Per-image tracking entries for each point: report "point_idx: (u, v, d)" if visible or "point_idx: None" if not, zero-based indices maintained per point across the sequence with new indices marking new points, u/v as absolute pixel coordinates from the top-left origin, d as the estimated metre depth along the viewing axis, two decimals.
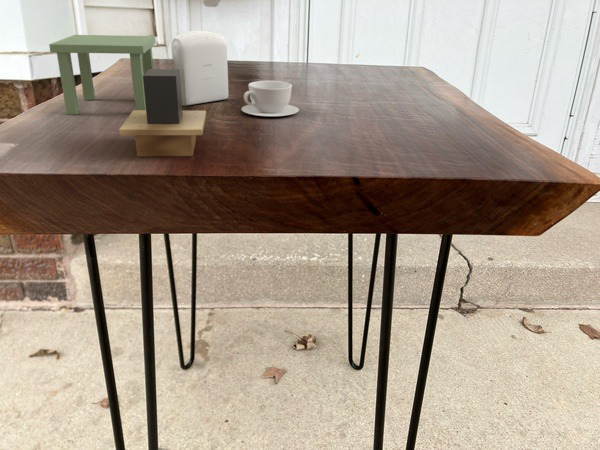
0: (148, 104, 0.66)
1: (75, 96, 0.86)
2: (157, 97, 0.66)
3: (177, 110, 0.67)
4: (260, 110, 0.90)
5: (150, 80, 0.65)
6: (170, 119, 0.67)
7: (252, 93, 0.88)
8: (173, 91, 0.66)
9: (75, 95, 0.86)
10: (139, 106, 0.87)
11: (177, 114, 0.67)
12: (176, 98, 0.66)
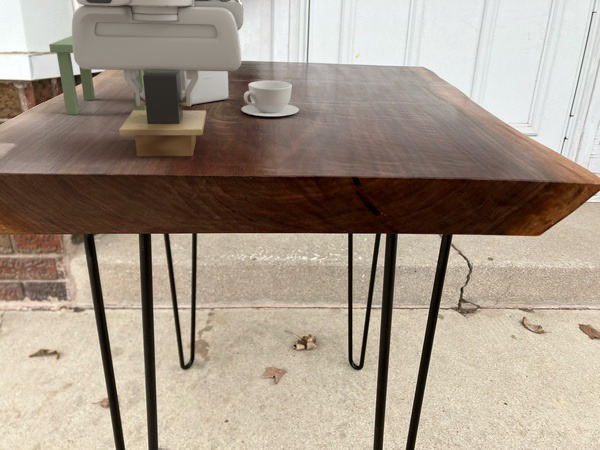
0: (148, 104, 0.66)
1: (75, 96, 0.86)
2: (158, 97, 0.66)
3: (177, 110, 0.67)
4: (260, 110, 0.90)
5: (150, 80, 0.65)
6: (170, 119, 0.67)
7: (252, 93, 0.88)
8: (173, 91, 0.66)
9: (75, 95, 0.86)
10: (139, 106, 0.87)
11: (177, 114, 0.67)
12: (176, 98, 0.66)
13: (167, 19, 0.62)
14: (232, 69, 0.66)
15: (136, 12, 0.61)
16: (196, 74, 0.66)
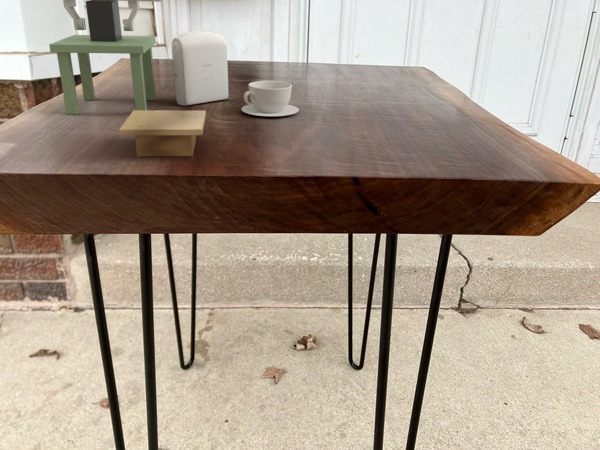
0: (90, 24, 0.84)
1: (75, 96, 0.86)
2: (98, 19, 0.84)
3: (114, 30, 0.85)
4: (260, 110, 0.90)
5: (91, 5, 0.83)
6: (109, 37, 0.85)
7: (252, 93, 0.88)
8: (110, 14, 0.84)
9: (75, 95, 0.86)
10: (139, 106, 0.87)
11: (114, 33, 0.85)
12: (112, 20, 0.84)
13: None
14: None
15: None
16: (136, 4, 0.85)
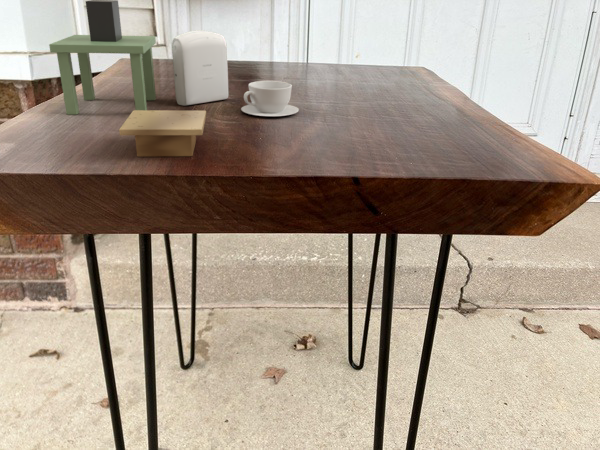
0: (90, 24, 0.84)
1: (75, 96, 0.86)
2: (98, 19, 0.84)
3: (114, 30, 0.85)
4: (260, 110, 0.90)
5: (91, 5, 0.83)
6: (109, 37, 0.85)
7: (252, 93, 0.88)
8: (110, 14, 0.84)
9: (75, 95, 0.86)
10: (139, 106, 0.87)
11: (114, 33, 0.85)
12: (112, 20, 0.84)
13: None
14: None
15: None
16: None
